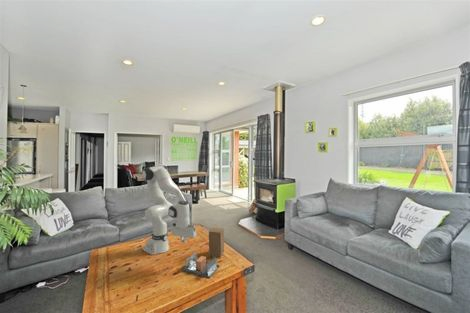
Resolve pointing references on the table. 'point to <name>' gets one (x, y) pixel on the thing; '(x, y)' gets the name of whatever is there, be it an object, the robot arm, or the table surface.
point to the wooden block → (216, 242)
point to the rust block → (200, 263)
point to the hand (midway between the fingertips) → (183, 242)
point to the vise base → (207, 270)
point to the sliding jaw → (191, 260)
